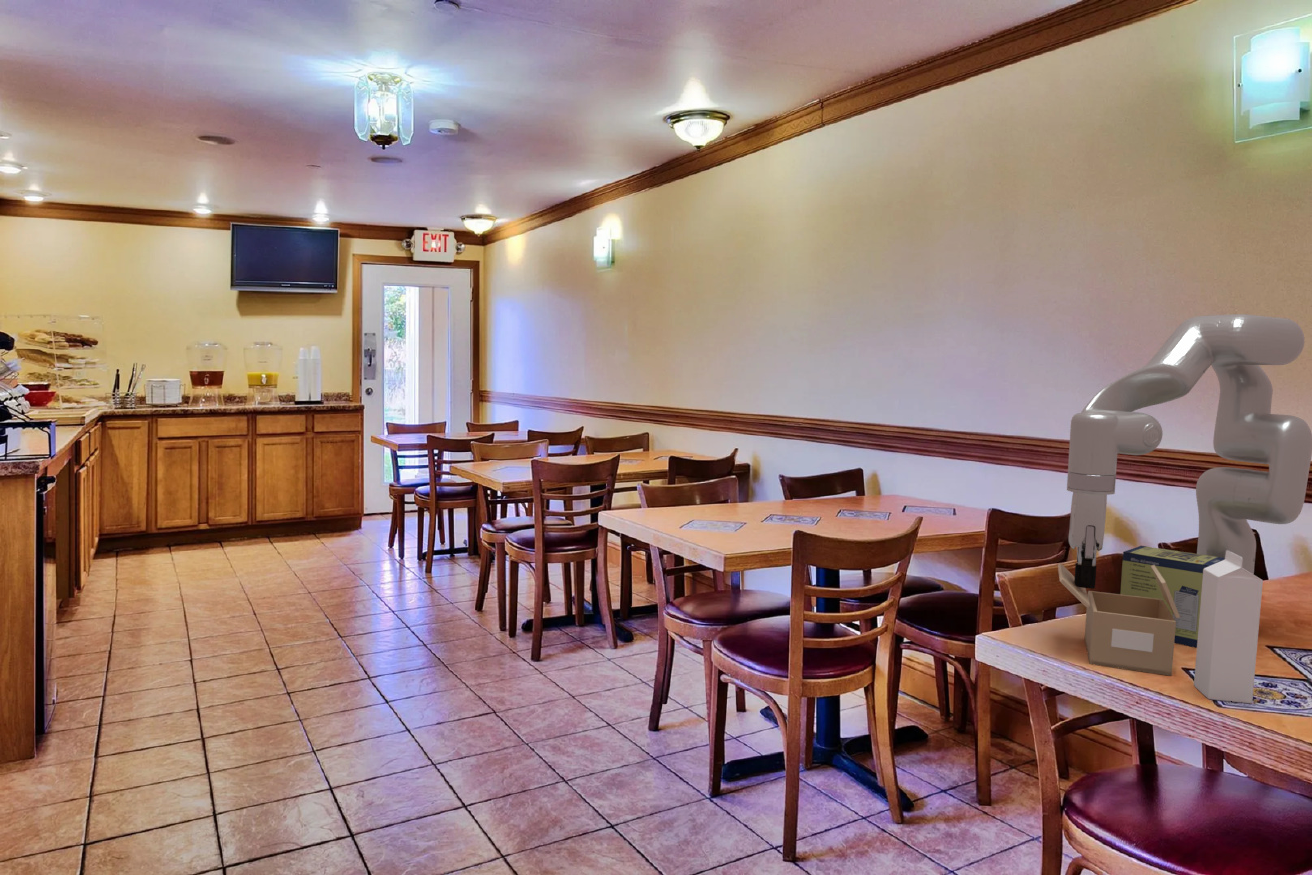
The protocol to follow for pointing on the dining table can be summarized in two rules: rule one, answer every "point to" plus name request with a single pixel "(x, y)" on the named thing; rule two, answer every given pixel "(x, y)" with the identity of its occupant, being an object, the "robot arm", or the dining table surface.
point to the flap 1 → (1072, 585)
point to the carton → (1130, 633)
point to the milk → (1228, 631)
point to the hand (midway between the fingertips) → (1084, 586)
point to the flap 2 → (1165, 591)
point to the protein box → (1169, 583)
